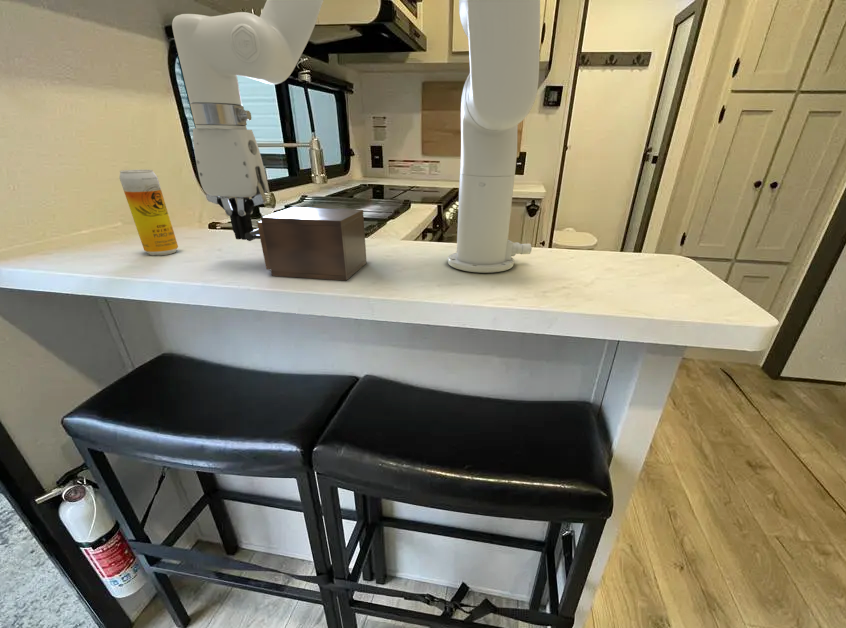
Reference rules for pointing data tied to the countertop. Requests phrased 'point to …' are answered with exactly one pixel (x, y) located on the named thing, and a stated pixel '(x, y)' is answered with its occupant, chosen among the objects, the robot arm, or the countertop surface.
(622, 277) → the countertop surface
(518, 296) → the countertop surface
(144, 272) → the countertop surface
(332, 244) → the cabinet
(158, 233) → the beer can
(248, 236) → the drawer
